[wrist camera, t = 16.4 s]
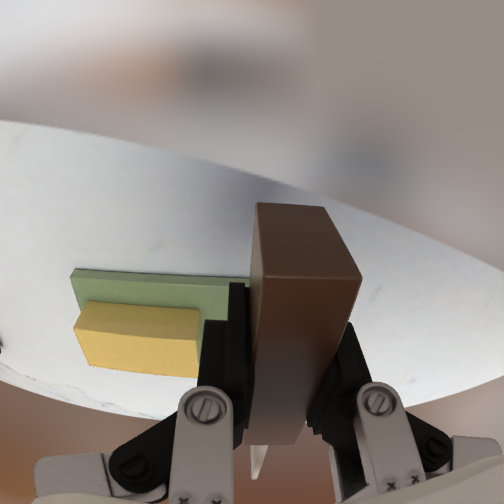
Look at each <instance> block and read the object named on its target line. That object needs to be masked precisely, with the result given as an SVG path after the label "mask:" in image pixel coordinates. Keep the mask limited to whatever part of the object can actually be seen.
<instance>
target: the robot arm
mask: <svg viewBox="0 0 504 504" xmlns="http://www.w3.org/2000/svg"><path fill="white" fill-rule="evenodd" d="M254 386H255V366H253V364H252V347H251V318H250V289H249V287H245V283H242V282H229V296H228V315H227V320H212V319H205V322H204V330H203V338H202V346H201V354H200V363H199V372H198V381H197V387H195V388H192V389H190V390H189V391H187V392H186V393H185V394H184V395H183V396H182V397H181V399H180V402H179V405H178V411H176V412H175V413H173V414H172V415H170V416H169V417H167V418H165V419H164V420H162V421H161V422H159V423H158V424H156V425H155V426H153V427H151V428H150V429H148V430H146V431H145V432H143V433H141V434H140V435H138V436H137V437H135V438H133V439H132V440H130V441H128V442H127V443H125V444H123V445H121V446H120V447H118V448H117V449H116V450H115V451H113V452H111V453H104V454H102V452H93V453H84V454H73V455H61V456H47V457H43V458H41V459H40V460H38V461H37V462H36V465H35V466H34V472H33V476H34V484H35V491H36V497H37V499H36V500H34V501H33V502H32V503H31V504H154V503H159V502H161V501H164V500H165V499H167V498H168V504H234V500H233V450H234V449H235V448H236V447H238V446H239V445H240V444H241V443H242V441H243V433H244V429H248V426H249V420H250V413H251V406H252V400H253V393H254ZM306 420H307V425H308V427H313V433H314V435H318V434H322V439H323V440H324V441H325V442H327V443H328V452H329V458H330V464H331V471H332V477H333V484H334V490H335V496H336V504H504V455H502V450H501V447H500V445H499V443H498V442H497V441H496V440H494V439H491V438H479V437H466V436H452V437H451V438H449V437H448V435H446V434H445V433H444V432H442V431H440V430H439V429H437V428H435V427H433V426H432V425H430V424H428V423H426V422H424V421H423V420H421V419H419V418H417V417H415V416H414V415H412V414H410V413H408V412H407V411H405V410H404V407H403V404H402V402H401V399H400V397H399V395H398V393H397V391H396V390H395V389H394V388H393V387H391V386H389V385H388V384H385V383H382V382H372V379H371V376H370V373H369V370H368V367H367V364H366V361H365V358H364V355H363V353H362V350H361V347H360V344H359V341H358V339H357V336H356V333H355V331H354V328H353V326H352V324H351V323H350V322H348V323H347V326H346V328H345V331H344V334H343V336H342V339H341V341H340V344H339V347H338V349H337V352H336V354H335V357H334V359H333V362H332V364H331V365H330V366H329V369H328V371H327V374H326V376H325V378H324V381H323V383H322V385H321V388H320V390H319V392H318V394H317V397H316V399H315V401H314V403H313V405H312V408H311V410H310V412H309V414H308V416H307V418H306Z"/></svg>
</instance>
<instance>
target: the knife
mask: <svg viewBox="0 0 504 504" xmlns="http://www.w3.org/2000/svg"><path fill="white" fill-rule="evenodd" d="M361 282H362V275H361V273H360V271H359V269H358V267H357V265H356V264H355V262H354V260H353V258H352V256H351V254H350V252H349V250H348V249H347V247H346V245H345V243H344V241H343V240H342V238H341V236H340V234H339V232H338V231H337V229H336V227H335V225H334V223H333V222H332V220H331V218H330V216H329V215H328V213H327V211H326V210H325V208H324V207H320V206H307V205H293V204H279V203H263V202H257V203H256V205H255V217H254V230H253V242H252V254H251V267H250V279H249V289H250V318H251V347H252V364H253V366H255V386H254V393H253V400H252V406H251V413H250V420H249V426H248V429H244V433H243V441H242V444H243V445H251V470H252V471H251V473H252V479H257V477H258V474H259V471H260V468H261V466H262V463H263V460H264V457H265V454H266V451H267V448H268V445H289V444H295V442H296V440H297V438H298V436H299V434H300V432H301V430H302V428H303V426H304V424H305V422H306V418H307V416H308V414H309V412H310V410H311V408H312V405H313V403H314V401H315V399H316V397H317V394H318V392H319V390H320V388H321V385H322V383H323V381H324V378H325V376H326V374H327V371H328V369H329V366H330V365H331V364H332V362H333V359H334V357H335V354H336V352H337V349H338V347H339V344H340V341H341V339H342V336H343V334H344V331H345V328H346V326H347V323H348V320H349V317H350V315H351V312H352V309H353V306H354V303H355V300H356V297H357V294H358V291H359V288H360V285H361Z"/></svg>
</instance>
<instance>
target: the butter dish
mask: <svg viewBox="0 0 504 504" xmlns="http://www.w3.org/2000/svg"><path fill="white" fill-rule="evenodd" d="M70 279H71V283H72V286H73V289H74V293H75V296H76V299H77V302H78V305H79V308H80V311H81V314H80V316H79V317H78V319H77V321H76V323H75V325H74V327H73V330H74V332H75V335H76V337H77V339H78V342H79V344H80V346H81V349H82V351H83V353H84V355H85V358H86V360H87V362H88V364H89V365H90V366H96V367H102V368H108V369H115V370H122V371H129V372H137V373H145V374H154V375H164V376H175V377H188V378H198V372H199V363H200V354H201V346H202V338H203V330H204V322H205V319H212V320H227V315H228V296H229V282H242V283H245V287H249V278H222V277H199V276H178V275H159V274H141V273H124V272H109V271H94V270H80V269H75V270H74V271H73V273H72V274H71V276H70Z"/></svg>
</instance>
